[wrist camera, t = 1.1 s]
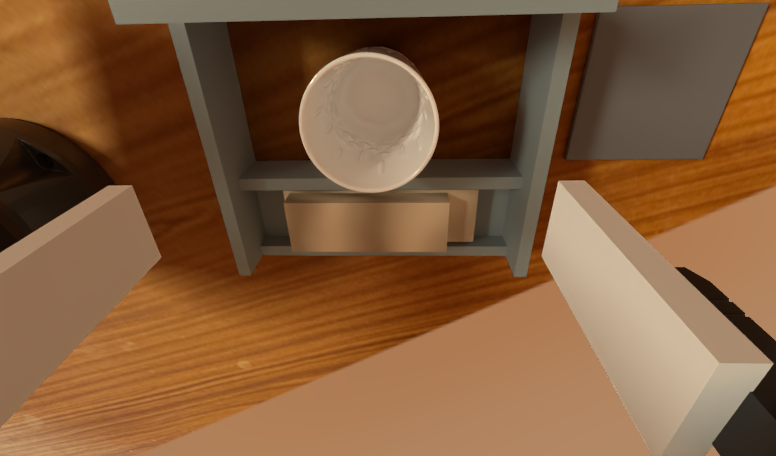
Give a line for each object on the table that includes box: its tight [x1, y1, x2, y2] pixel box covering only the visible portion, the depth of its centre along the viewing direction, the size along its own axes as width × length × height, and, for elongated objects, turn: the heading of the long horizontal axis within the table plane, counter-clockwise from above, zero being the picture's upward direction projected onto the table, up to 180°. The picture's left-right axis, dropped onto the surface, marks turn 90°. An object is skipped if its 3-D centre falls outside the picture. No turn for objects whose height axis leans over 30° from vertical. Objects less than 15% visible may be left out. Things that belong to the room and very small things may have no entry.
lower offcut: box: [283, 189, 479, 242], centre depth 33 cm, size 16×5×2 cm, turn 91°
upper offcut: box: [283, 193, 450, 252], centre depth 31 cm, size 13×5×2 cm, turn 91°
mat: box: [564, 3, 769, 160], centre depth 28 cm, size 11×11×1 cm
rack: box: [108, 0, 619, 277], centre depth 26 cm, size 24×20×12 cm
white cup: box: [299, 46, 439, 193], centre depth 25 cm, size 8×8×10 cm
